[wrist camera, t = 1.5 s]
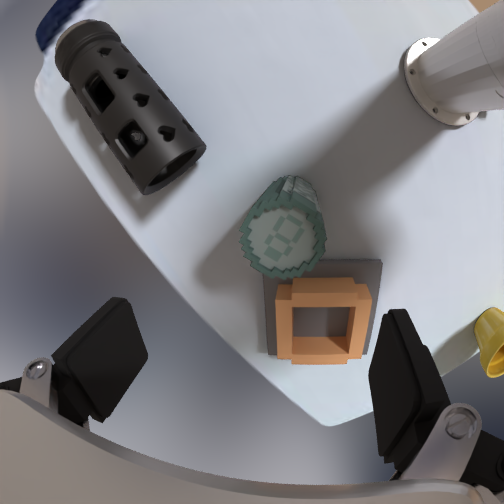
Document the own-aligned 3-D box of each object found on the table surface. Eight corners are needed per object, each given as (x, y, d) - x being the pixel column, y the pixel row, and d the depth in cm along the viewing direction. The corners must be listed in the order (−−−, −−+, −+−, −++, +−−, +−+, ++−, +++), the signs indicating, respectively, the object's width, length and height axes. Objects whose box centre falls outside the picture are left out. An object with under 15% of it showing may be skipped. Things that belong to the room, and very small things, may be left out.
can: (258, 208, 34) (226, 252, 21) (282, 167, 32) (266, 182, 18) (299, 232, 34) (295, 291, 21) (324, 193, 32) (341, 228, 18)
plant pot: (480, 350, 36) (499, 383, 27) (456, 335, 36) (477, 372, 27) (512, 310, 31) (536, 339, 23) (491, 289, 31) (520, 320, 22)
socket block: (380, 259, 34) (390, 276, 29) (365, 349, 39) (370, 371, 35) (263, 260, 37) (257, 278, 32) (269, 349, 43) (264, 372, 38)
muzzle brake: (169, 188, 36) (126, 205, 26) (83, 68, 30) (39, 61, 21) (221, 143, 32) (188, 143, 23) (120, 25, 27) (79, 7, 17)
